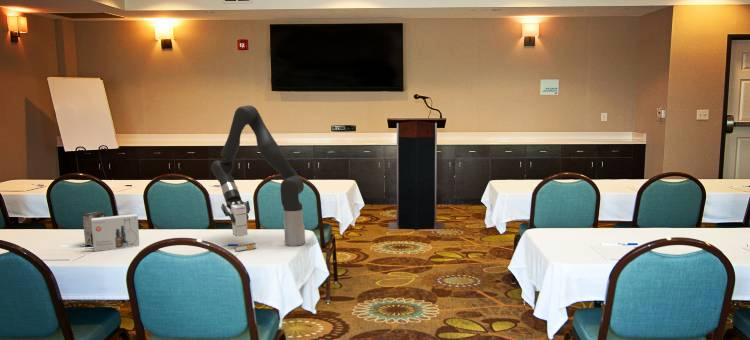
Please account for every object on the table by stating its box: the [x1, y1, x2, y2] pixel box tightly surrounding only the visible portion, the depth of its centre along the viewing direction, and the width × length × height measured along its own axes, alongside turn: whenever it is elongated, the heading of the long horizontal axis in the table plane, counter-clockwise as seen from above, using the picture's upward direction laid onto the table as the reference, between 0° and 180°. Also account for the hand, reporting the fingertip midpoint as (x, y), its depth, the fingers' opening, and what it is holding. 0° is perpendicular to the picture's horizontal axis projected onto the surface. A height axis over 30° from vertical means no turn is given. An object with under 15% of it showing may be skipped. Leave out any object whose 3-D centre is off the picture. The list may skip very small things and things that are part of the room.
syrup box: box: [231, 204, 249, 237], centre depth 291 cm, size 6×6×14 cm
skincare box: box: [91, 213, 140, 252], centre depth 298 cm, size 21×5×16 cm, turn 117°
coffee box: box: [82, 211, 106, 247], centre depth 307 cm, size 9×6×16 cm
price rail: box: [234, 242, 257, 253], centre depth 287 cm, size 10×2×2 cm, turn 123°
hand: (240, 220), depth 290 cm, fingers closed on syrup box, 6 cm apart
